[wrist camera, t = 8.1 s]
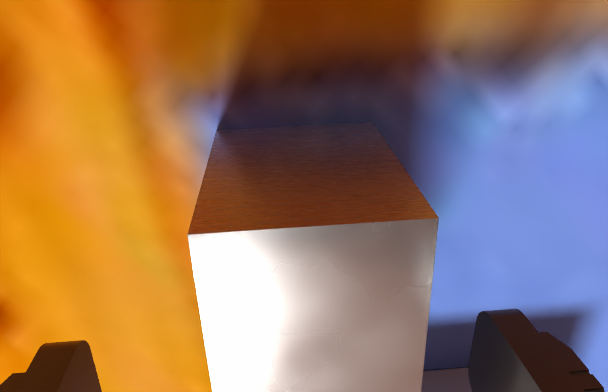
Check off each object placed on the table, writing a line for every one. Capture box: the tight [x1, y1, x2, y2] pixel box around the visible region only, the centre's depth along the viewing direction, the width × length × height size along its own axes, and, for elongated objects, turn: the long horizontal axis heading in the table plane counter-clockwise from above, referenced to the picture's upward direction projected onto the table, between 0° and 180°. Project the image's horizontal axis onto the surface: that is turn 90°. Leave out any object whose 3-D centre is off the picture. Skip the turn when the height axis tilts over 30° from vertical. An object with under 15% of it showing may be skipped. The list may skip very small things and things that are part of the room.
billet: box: [188, 122, 439, 392], centre depth 13 cm, size 4×7×6 cm, turn 2°
